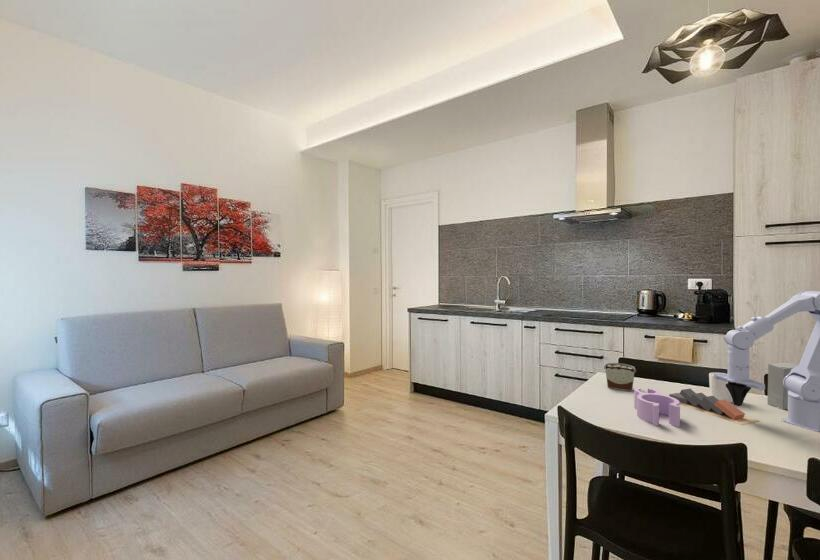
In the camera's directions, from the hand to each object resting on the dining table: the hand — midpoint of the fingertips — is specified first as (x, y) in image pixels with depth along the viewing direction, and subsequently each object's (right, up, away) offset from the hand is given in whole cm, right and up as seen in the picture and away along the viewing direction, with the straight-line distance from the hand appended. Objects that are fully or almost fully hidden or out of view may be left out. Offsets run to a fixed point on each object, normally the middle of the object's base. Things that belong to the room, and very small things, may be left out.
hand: (738, 405), depth 134 cm
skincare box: (+27, -4, +11) cm, 30 cm away
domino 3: (-2, -4, +8) cm, 9 cm away
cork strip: (-3, -5, +9) cm, 10 cm away
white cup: (+10, -4, +19) cm, 22 cm away
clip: (-25, -6, +5) cm, 26 cm away
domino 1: (-5, -3, +15) cm, 16 cm away
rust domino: (0, -4, 0) cm, 4 cm away
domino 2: (-4, -4, +12) cm, 13 cm away
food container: (-20, -4, +38) cm, 43 cm away
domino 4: (-1, -4, +4) cm, 5 cm away
